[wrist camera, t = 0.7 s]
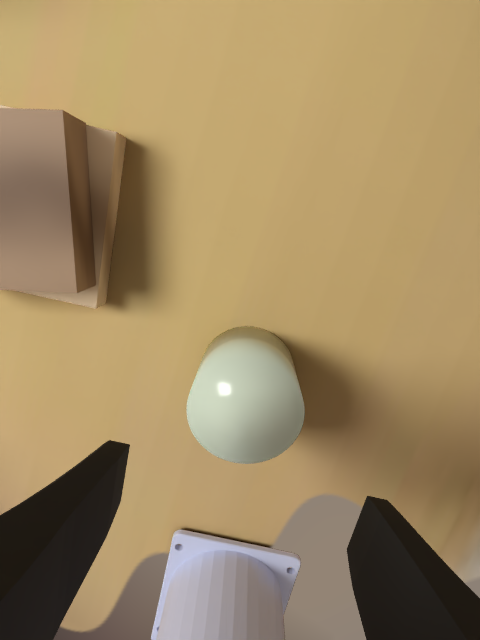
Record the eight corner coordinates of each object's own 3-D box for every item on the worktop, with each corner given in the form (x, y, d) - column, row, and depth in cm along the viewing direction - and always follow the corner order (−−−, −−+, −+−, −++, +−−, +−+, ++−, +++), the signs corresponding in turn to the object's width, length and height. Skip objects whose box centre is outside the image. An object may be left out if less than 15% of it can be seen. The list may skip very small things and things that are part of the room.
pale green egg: (280, 420, 21) (287, 474, 16) (193, 401, 21) (177, 450, 16) (304, 337, 19) (318, 372, 15) (211, 316, 19) (198, 345, 15)
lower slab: (111, 299, 20) (96, 308, 18) (-37, 266, 20) (-68, 272, 18) (131, 141, 18) (116, 132, 16) (-34, 102, 18) (-70, 88, 16)
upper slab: (96, 285, 18) (76, 293, 16) (-48, 278, 18) (-85, 285, 16) (85, 123, 16) (62, 109, 14) (-75, 117, 16) (-120, 103, 14)
